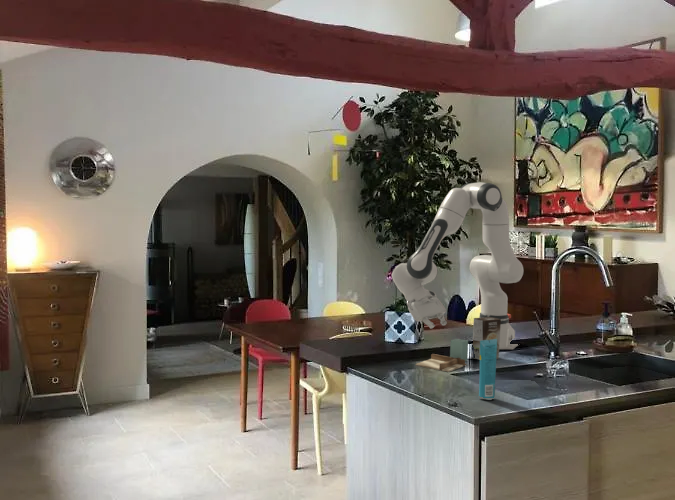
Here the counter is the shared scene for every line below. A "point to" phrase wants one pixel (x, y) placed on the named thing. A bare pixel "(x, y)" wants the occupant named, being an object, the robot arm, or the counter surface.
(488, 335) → the coffee box
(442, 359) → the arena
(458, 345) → the block
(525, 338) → the counter surface
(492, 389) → the tube
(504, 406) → the counter surface
